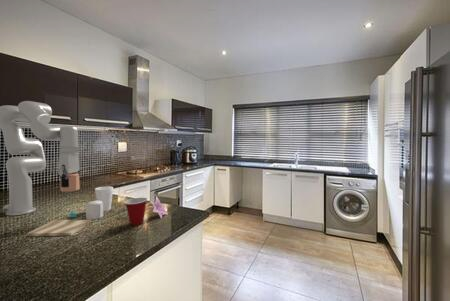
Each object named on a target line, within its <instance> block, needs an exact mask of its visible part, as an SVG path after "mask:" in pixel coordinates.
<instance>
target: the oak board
mask: <svg viewBox="0 0 450 301" xmlns="http://www.w3.org/2000/svg"><path fill="white" fill-rule="evenodd" d="M90 223H92V220H88V219H53V220H51V221H49V222H47V223H45V224H43V225H41V226H38V227H37V228H35V229H33V230H31V231H29V232H26V236H27V237H53V236H54V237H56V236H67V237H68V236H73V235H74V234H76V233H77V232H79V231H80V230H82V229H84V228H85V227H86V226H88V225H89V224H90Z"/></svg>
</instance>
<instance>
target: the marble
mask: <svg viewBox="0 0 450 301" xmlns="http://www.w3.org/2000/svg"><path fill="white" fill-rule="evenodd" d="M69 217H70V218H71V219H73V218H75V217H77V212H76V211H71V212H69Z"/></svg>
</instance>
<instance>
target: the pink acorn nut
mask: <svg viewBox="0 0 450 301" xmlns="http://www.w3.org/2000/svg"><path fill="white" fill-rule="evenodd" d="M79 174H80V173H79ZM79 174H78V173H70V174H69V176H68V179H69V187H61V179H60V178H59V179H60V180H59V181H60V182H59V183H60V191H61V192H62V193H63V192H74V191H79V190H80V189H81V188H80V184H81V183H80V175H79ZM65 176H66V175H65Z"/></svg>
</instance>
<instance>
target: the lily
mask: <svg viewBox="0 0 450 301" xmlns="http://www.w3.org/2000/svg"><path fill="white" fill-rule="evenodd" d="M149 202H150V203H151V204H152V205H153V210H152V213H151V215H150V216H151V217H152V215H154V213H158V215H159V217H160V219H163V214H165V215H167V216H168V212H167V210H166V209H165V207H164V203H161V201H160V199H159V198H158V196H155V201H152V200H150V201H149Z"/></svg>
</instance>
